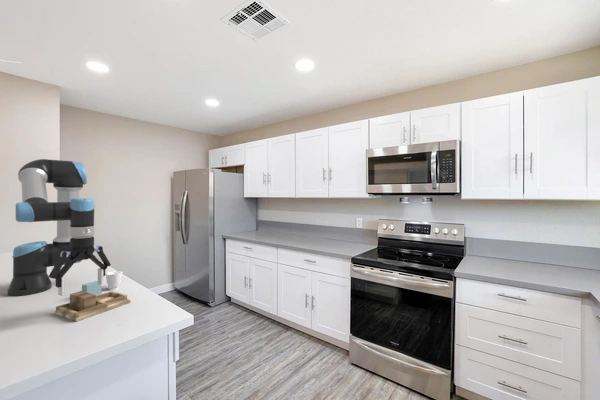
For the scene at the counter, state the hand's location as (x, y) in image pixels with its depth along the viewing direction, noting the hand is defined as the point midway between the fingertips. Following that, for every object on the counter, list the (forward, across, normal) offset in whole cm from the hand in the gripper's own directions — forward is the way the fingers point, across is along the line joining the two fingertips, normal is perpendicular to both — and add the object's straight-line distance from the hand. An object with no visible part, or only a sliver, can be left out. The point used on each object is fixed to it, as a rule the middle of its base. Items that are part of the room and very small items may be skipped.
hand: (82, 289), depth 107 cm
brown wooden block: (+8, 0, -1) cm, 8 cm away
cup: (+10, +23, +18) cm, 31 cm away
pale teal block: (+10, +12, +16) cm, 22 cm away
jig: (+9, +5, -1) cm, 10 cm away
